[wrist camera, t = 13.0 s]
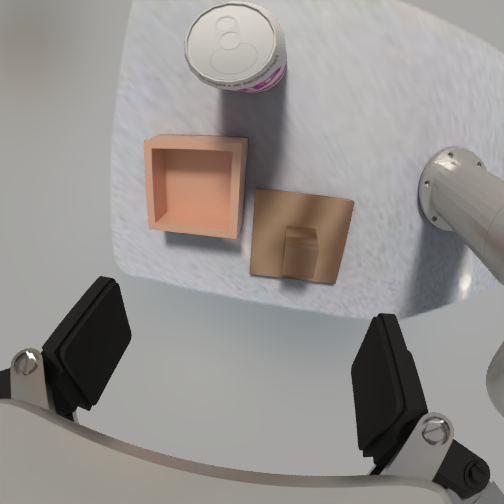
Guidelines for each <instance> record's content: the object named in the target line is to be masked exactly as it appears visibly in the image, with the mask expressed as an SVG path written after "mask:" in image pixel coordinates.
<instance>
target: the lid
mask: <svg viewBox="0 0 504 504" xmlns="http://www.w3.org/2000/svg"><path fill="white" fill-rule="evenodd" d="M353 206H354V201H353V200H347V199H341V198H334V197H327V196H320V195H312V194H304V193H296V192H288V191H279V190H270V189H261V188H256V190H255V203H254V217H253V231H252V245H251V258H250V272H249V274H255V275H263V276H271V277H279V278H288V279H296V280H305V281H314V282H323V283H332V284H335V283H336V279H337V276H338V272H339V268H340V264H341V260H342V256H343V251H344V247H345V243H346V239H347V234H348V230H349V225H350V221H351V216H352V211H353Z"/></svg>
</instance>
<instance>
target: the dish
mask: <svg viewBox="0 0 504 504" xmlns="http://www.w3.org/2000/svg"><path fill="white" fill-rule="evenodd" d="M247 147H248V138H244V137H229V136H209V135H158V136H155V137H152V138H150V139H147V140H144V157H145V180H146V196H147V210H148V222H149V229H151V230H161V231H170V232H179V233H188V234H196V235H205V236H214V237H223V238H231V239H237V237H238V234H239V232H240V229H241V226H242V224H243V210H244V194H245V178H246V163H247Z"/></svg>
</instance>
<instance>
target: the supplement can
mask: <svg viewBox="0 0 504 504" xmlns="http://www.w3.org/2000/svg"><path fill="white" fill-rule="evenodd" d="M184 45H185V58H186V61H187V63H188V65H189V68H190V70H191V71H192V72H193V73H194V74H195V75H196V76H197V77H198V78H199V79H200V80H201V81H202V82H204V83H206V84H208V85H210V86H213V87H215V88H217V89H225V90H233V91H241V92H248V93H258V92H263V91H266V90H268V89H270V88H272V87H274V86H276V84H277V83H278V82H279V81H280V80H281V79H282V78H283V76H284V73H285V71H286V68H287V54H286V44H285V35H284V32H283V30H282V28H281V26H280V24H279V22H278V20H277V19H276V18H275V17H274V16H273V15H272V14H271V13H270V12H268V11H267V10H266V9H265V8H262V7H260V6H257V5H255V4H252V3H250V2H236V1H231V2H227V3H223V4H219V5H215V6H212V7H211V8H209V9H208V10H206V11H204V12H203V13H201V14H200V15H199V16H198V17H197V18H196V19H195V21H194V22H193V23H192V24H191V25H190V28H189V30H188V33H187V36H186V39H185V42H184Z"/></svg>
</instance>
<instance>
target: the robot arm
mask: <svg viewBox="0 0 504 504" xmlns="http://www.w3.org/2000/svg"><path fill="white" fill-rule="evenodd" d="M448 154H449V155H448ZM425 182H426V183H425ZM419 200H420V204H421V208H422V210H423V212H424V214H425V216H426V217H427V219H428V220H429V221H430V222H431V223H432V224H433V225H435V226H436V227H437V228H439V229H442V230H445V231H454V232H455V233H456V234H457V235H458V236H459V237H460V238H461V239H462V240H463V241H464V243H465V244H466V245H467V246H468V247H469V248H470V249H471V250H472V251H473V253H474V254H475V255H476V256H477V257H478V258H479V259H480V261H481V262H482V263H483V264H484V265H485V267H486V268H487V269H488V270H489V271H490V272H491V274H492V275H493V276H494V277H495V278H496V279H497V280H498V281H499V282H500V283H501V284H503V285H504V180H502V179H500V178H499V177H497V176H495V175H493V174H491V173H490V172H488V171H487V170H486V168H485V166H484V164H483V162H482V161H481V159H480V158H479V157H478V156H477V155H476V154H475V153H473V152H471V151H469V150H467V149H465V148H462V147H450V148H446V149H444V150H441V151H440V152H438V153H437V154H436V155H435V156H434V157H433V158H432V159H431V160H430V161H429V162H428V164H427V165H426V167H425V169H424V171H423V173H422V176H421V180H420V185H419ZM130 340H131V330H130V326H129V323H128V319H127V315H126V311H125V307H124V303H123V299H122V295H121V291H120V286H119V284H118V283H116V281H115V279H113V278H108V277H103V276H100V277H99V278H98V279H97V280H96V281H95V282H94V283H93V284H92V285H91V287H90V288H89V289H88V290H87V291H86V292H85V294H84V295H83V296H82V297H81V299H80V300H79V301H78V302H77V303H76V304H75V306H74V307H73V308H72V309H71V311H70V312H69V313H68V314H67V315H66V317H65V318H64V319H63V320H62V322H61V323H60V324H59V326H58V327H57V328H56V329H55V331H54V332H53V333H52V335H51V336H50V337H49V339H48V340H47V341H46V342H45V344H44V345H43V347H42V349H43V351H42V352H41V353H40V352H39V351H37V350H36V349H32V348H29V349H24V350H22V351H20V352H19V353H17V354H16V355H15V357H14V358H13V360H12V362H11V368H9V369H6V370H3V371H0V504H504V495H503V493H502V492H501V491H500V489H499V488H498V486H497V485H496V484H495V482H491V483H490V481H489V479H490V470H489V466H488V465H487V463H486V462H485V461H484V460H483V459H481V458H480V457H478V456H477V455H476V454H474V453H472V452H471V451H470V450H468V449H467V448H466V447H464V446H463V445H461V444H460V443H458V442H457V441H456V440H454V439H453V437H454V429H453V426H452V423H451V422H450V420H449V419H448V418H446V416H444V415H442V414H440V413H435V412H432V413H428V409H427V405H426V401H425V397H424V394H423V390H422V387H421V383H420V380H419V376H418V373H417V370H416V366H415V363H414V360H413V357H412V354H411V352H409V351H408V350H407V347H406V344H405V341H404V338H403V335H402V332H401V329H400V327H399V324H398V321H397V318H396V316H395V315H394V314H385V313H379V314H378V316H377V317H373V319H372V321H371V323H370V326H369V329H368V331H367V333H366V335H365V338H364V340H363V342H362V345H361V347H360V349H359V351H358V354H357V356H356V358H355V360H354V362H353V364H352V368H351V376H352V384H353V393H354V403H355V413H356V422H357V436H358V446H359V450H363V457H373V458H374V464H375V465H374V466H373V468H372V469H371V470H370V471H369V473H368V474H367V475H360V476H298V475H297V476H296V475H281V474H269V473H259V472H251V471H243V470H236V469H230V468H224V467H218V466H213V465H207V464H202V463H198V462H193V461H188V460H184V459H180V458H176V457H172V456H168V455H165V454H161V453H158V452H154V451H151V450H147V449H144V448H141V447H138V446H135V445H132V444H129V443H126V442H123V441H120V440H117V439H114V438H112V437H109V436H106V435H104V434H102V433H99V432H97V431H94V430H92V429H89V428H87V427H84V426H82V425H80V424H79V422H78V419H77V415H76V409H77V407H78V406H79V407H81V408H83V409H86V410H88V411H90V409H91V407H92V405H93V406H94V405H96V404H97V402H98V400H99V398H100V396H101V394H102V392H103V390H104V389H105V387H106V385H107V383H108V381H109V379H110V377H111V375H112V374H113V372H114V370H115V368H116V366H117V364H118V363H119V361H120V359H121V357H122V355H123V353H124V352H125V350H126V348H127V346H128V344H129V343H130ZM486 387H487V391H488V394H489V397H490V399H491V401H492V403H493V404H494V406H495V408H496V409H497V410H498V412H499V413H500V414H501V415H502V416H503V417H504V341H503V343H502V345H501V346H500V348H499V349H498V351H497V352H496V354H495V356H494V357H493V359H492V361H491V363H490V365H489V367H488V371H487V375H486Z"/></svg>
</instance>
